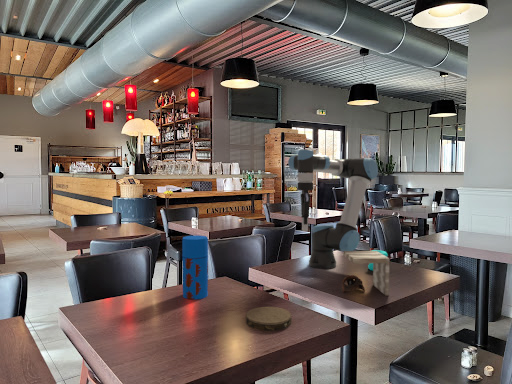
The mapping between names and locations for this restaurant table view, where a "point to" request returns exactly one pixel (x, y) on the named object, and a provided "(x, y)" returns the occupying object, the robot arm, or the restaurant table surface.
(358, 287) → the brown arched shell
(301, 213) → the robot arm
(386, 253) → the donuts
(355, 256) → the counter
